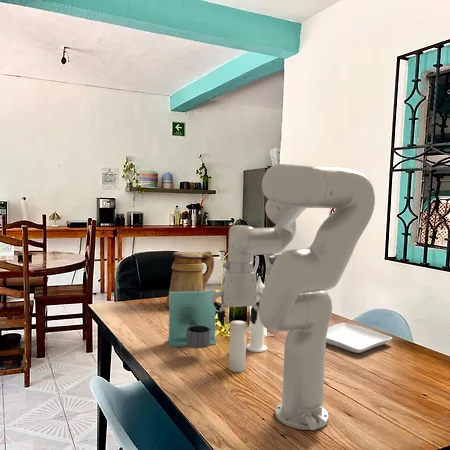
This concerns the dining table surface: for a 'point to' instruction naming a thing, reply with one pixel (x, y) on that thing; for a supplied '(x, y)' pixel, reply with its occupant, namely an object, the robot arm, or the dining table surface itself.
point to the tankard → (190, 271)
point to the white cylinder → (237, 346)
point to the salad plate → (354, 337)
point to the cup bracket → (191, 319)
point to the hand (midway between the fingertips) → (237, 323)
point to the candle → (257, 328)
